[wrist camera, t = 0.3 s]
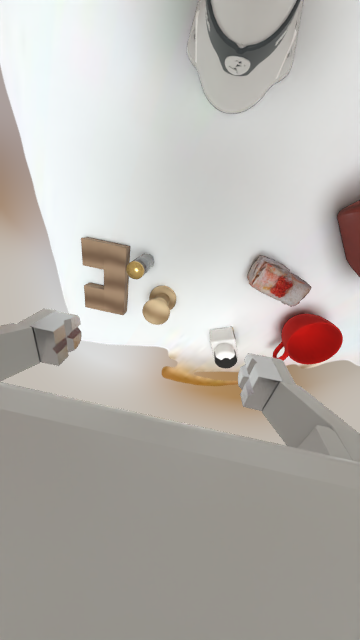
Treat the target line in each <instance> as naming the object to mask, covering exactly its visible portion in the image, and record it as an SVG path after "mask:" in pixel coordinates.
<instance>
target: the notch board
mask: <svg viewBox="0 0 360 640" xmlns="http://www.w3.org/2000/svg"><path fill="white" fill-rule="evenodd" d="M81 243H82V259H83V265H85V266H89V267H94V268H99V269H103V270H104V286H103V285H99V284H94V283H88V284H86V285H84V291H85V307H88V308H92V309H97V310H102V311H106V312H111V313H115V314H120V315H124V314H125V313H126V311H127V298H128V279H129V275H128V274H127V271H126V268H127V265H128V264H129V261H130V246H127V245H122V244H117V243H113V242H108V241H103V240H98V239H94V238H89V237H85V238H81Z"/></svg>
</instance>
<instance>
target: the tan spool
mask: <svg viewBox="0 0 360 640" xmlns="http://www.w3.org/2000/svg"><path fill="white" fill-rule="evenodd" d="M149 299H150V300H149V301H147V302H146V304H145V305H144V307H143V315H144V317H145V319H146V320H147V321H148V322H150V323H152V324H156V325H159V324H163V323H165V322H166V321H167V320H168V318H169V315H170V310H171V309H172V308H173V307H174V306H175V303H176V295H175V293H174V291H173V290H172V289H171V288H169V287H167V286H158V287H156V288H154V289H153V290H152V292H151V293H150V297H149Z"/></svg>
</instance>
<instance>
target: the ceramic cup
mask: <svg viewBox="0 0 360 640" xmlns="http://www.w3.org/2000/svg"><path fill="white" fill-rule="evenodd" d="M281 336H282V342H281V343H280V344H279V345H278V346H277V347H276V349H275V350H274V352H273V358H277V354H278V352H279V351H280V349H281V348H282V347H283V346H284V347H285V352H284V354H283V355H282V356H281V357H279V358H277V359H281V360H282V361H283V360H285V359H286V358H287V357H288V355H289V357H290V358H291V359H293V360H294V361H296V362H298V363H301V364H316V363H320V362H323V361H325V360H327V359H329V358H331V357H332V356H333V355H335V354H336V353H337V351H338V350H339V349H340V347H341V345H342V341H343V337H342V333H341V331H340V330H339V329H338V328H337V327H336V326H335V325H334V324H333V323H331V322H330V321H328V320H326V319H324V318H322V317H320V316H317V315H314V314H300V315H296V316H294V317H292V318H290V319H289V320H288V321H287V322H286V323H285V325H284V326H283V329H282V335H281Z"/></svg>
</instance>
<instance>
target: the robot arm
mask: <svg viewBox="0 0 360 640" xmlns="http://www.w3.org/2000/svg"><path fill="white" fill-rule="evenodd" d="M302 6H303V0H199V1H198V5H197V9H196V13H195V16H194V20H193V24H192V28H191V32H190V36H189V40H188V44H187V54H188V57H189V59H190V61H191V62H192V64H193V65H194V67H195V68H196V69H197V72H198V74H199V78H200V82H201V85H202V88H203V91H204V93H205V95H206V97H207V99H208V100H209V101H210V103H211V104H212V105H213V106H214V107H215V108H217V109H218V110H220V111H222V112H225V113H239V112H243V111H245V110H247V109H249V108H251V107H252V106H253V105H255V104H256V103H257V102H258V101H259V100H260V99H261V98H262V97H263V96H264V94H265V93H266V92H267V91H268V89H269V88H270V87H271V86H272V85H274V84H275V83H277V82H279V81H280V80H282V79H283V78H285V77H286V76H287V75H288V73H289V71H290V69H291V67H292V63H293V58H294V52H295V46H296V40H297V35H298V29H299V23H300V17H301V12H302ZM194 38H195V40H194ZM287 55H288V58H287ZM286 58H287V59H286ZM79 325H80V318H79V317H78V316H77V315H73V314H69V313H64V312H60V311H56V310H51V309H42V310H41V311H39V312H37V313H35V314H33V315H32V316H30V317H28V318H26V319H25V320H23V321H21V322H19V323H17V324H14V323H11V324H7V325H1V326H0V381H2V380H4V379H6V378H9V377H11V376H13V375H15V374H17V373H19V372H22V371H24V370H26V369H28V368H30V367H32V366H35V365H37V364H39V363H40V362H42V363H48V364H53V365H58V366H59V365H60V364H61V363H62V362H63V361H64V360H65V359H66V358H67V357H68V352H71V351H73V350H75V349H76V348H77V347H78V345H79V343H80V341H81V331H80V330H79V328H78V326H79ZM244 361H245V365H243V366H242V367H241V368H240V371H239V375H238V385H239V387H240V388H241V389H242V392H241V399H242V404H243V407H247V408H252V409H255V410H259V411H262V413H263V414H264V416H265V417H266V418H267V420H268V421H269V422H270V424H271V425H272V426H273V428H274V429H275V430H276V432H277V433H278V434H279V436H280V437H281V438H282V439H283V441H284V442H285V444H286V445H287V446H285V445H280V444H276V443H272V442H267V441H262V440H258V439H253V438H249V437H244V436H240V435H235V434H231V433H227V432H222V431H218V430H213V429H208V428H204V427H199V426H195V425H191V424H186V423H182V422H178V421H173V420H169V419H164V418H160V417H155V416H150V415H146V414H142V413H137V412H133V411H128V410H124V409H119V408H114V407H110V406H106V405H101V404H97V403H92V402H88V401H83V400H79V399H74V398H69V397H65V396H61V395H57V394H52V393H47V392H43V391H39V390H34V389H30V388H25V387H21V386H16V385H11V384H7V383H3V382H0V640H360V434H359V433H358V432H357V431H356V430H354V429H353V428H352V427H351V426H349V425H348V424H347V423H345V422H344V421H343V420H342V419H341V418H339V417H338V416H337V415H336V414H334V413H333V412H332V411H331V410H329V409H328V408H327V407H325V406H324V405H323V404H322V403H320V402H319V401H318V400H317V399H315V398H314V397H313V396H312V395H311V394H309V393H308V392H307V391H305V390H304V389H303V388H302V387H300V386H298V385H296V384H295V382H294V380H293V378H292V377H291V375H290V373H289V371H288V369H287V368H286V366H285V364H284V362H283V361H282V360H281V359H277V358H272V357H266V356H261V355H256V354H251V353H248V354H247V355H246V357H245V359H244Z"/></svg>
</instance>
